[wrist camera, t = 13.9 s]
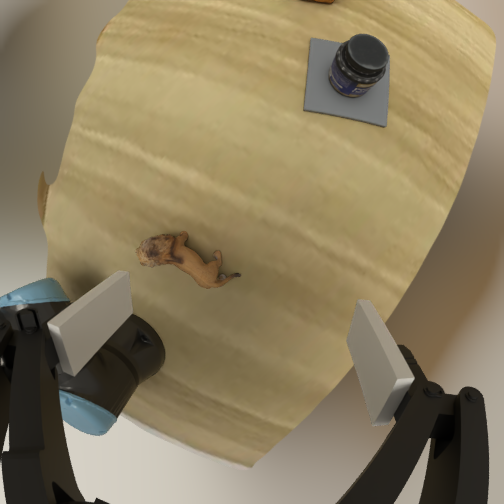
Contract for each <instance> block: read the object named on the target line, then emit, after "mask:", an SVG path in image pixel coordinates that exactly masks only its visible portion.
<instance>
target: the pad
mask: <svg viewBox="0 0 504 504" xmlns="http://www.w3.org/2000/svg"><path fill="white" fill-rule="evenodd" d="M341 44H342V43H339V42H334V41H328V40H323V39H316V38H311V40H310V52H309V63H308V74H307V84H306V93H305V103H304V111H309V112H316V113H321V114H327V115H332V116H338V117H343V118H347V119H352V120H357V121H361V122H365V123H369V124H373V125H377V126H381V127H386V126H387V114H388V98H389V69H390V55H389V60H388V63H387V64H386V71H385V74H384V76H383V77H382V78H381V79H380V80H379V81H378V82H377V83H376V84H375V85H374V86H373V87H372V88H371V89H369V90H368V91H367V92H366V93H365V94H364V95H362V96H360V97H356V98H351V97H346V96H343V95H341V94H339V93H338V92H337V91H336V90H335V89H334V88H333V87H332V85H331V83H330V81H329V69H330V67H331V65H332V62H333V60H334V57H335V55H336V52H337V50H338V48H339V47H340V46H341Z"/></svg>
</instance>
